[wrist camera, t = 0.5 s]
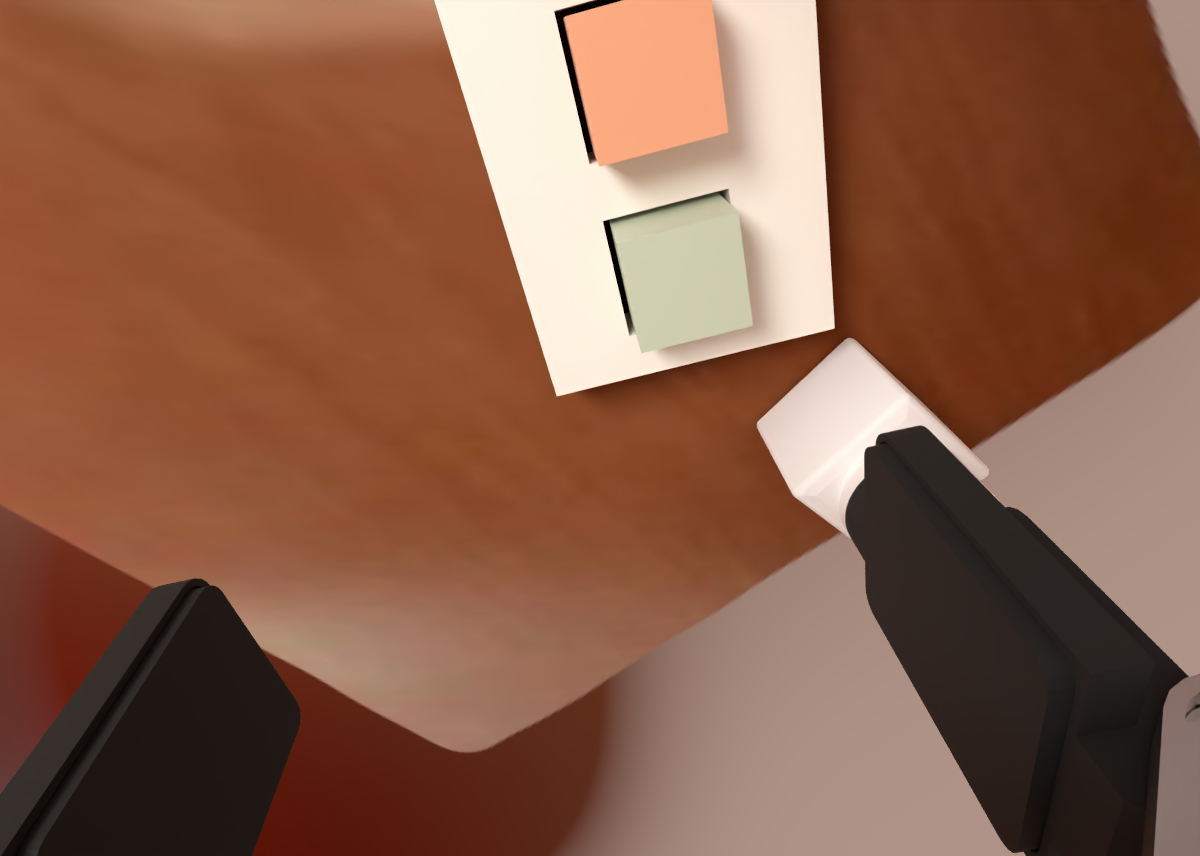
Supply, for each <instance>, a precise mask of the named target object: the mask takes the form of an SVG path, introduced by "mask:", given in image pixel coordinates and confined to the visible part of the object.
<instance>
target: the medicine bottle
mask: <svg viewBox="0 0 1200 856" xmlns="http://www.w3.org/2000/svg"><path fill="white" fill-rule="evenodd" d="M919 425H921V426H925V427H926V428H927V429H929V430H930V431H931V432H932V433H933V434H934V435H935V436H936V437H937V438H938V439H939V440H940V441H941V442H942V443H943V444H944V446H945V447H946V448H947V449H948V450H949V451H950V452H951V453H952V454H953V455H954V456H955V457H956V458H957V459H958V460H959V461H960V462H961V463H962V464H963V465H964V466H965V467H966V468H967V469H968V470H969V471H970V472H971V473H972V474H973V475H974V476H975V477H976V478H977V479H978V480H979V481H980V482H981V481H982V480H983V479H985V478H986V477H987V476H988V475H989V469H988V467H987V466H986V465H985V464H984V463H983V462H982V461H981V460H980V459H979V458H978V457H977V456H976V455H975V454H974V453H973V452H972V451H971V450H970V449H969V448H968V447H967V446H966V445H965V444H964V443H963V442H962V441H961V440H960V439H959V438H958V437H957V436H956V435H955V434H954V433H953V432H952V431H951V430H950V429H949V428H948V427H947V426H946V425H945V424H944V423H943V422H942V421H941V420H940V419H939V418H938V417H937V416H936V415H935V414H934V413H933V412H932V411H931V410H930V409H928V408H927V407H926V406H925V405H924V404H923V403H922V402H921V401H920V400H919V399H918V398H917V397H916V396H915V395H914V394H913V393H912V392H911V391H909V390H908V389H907V388H906V387H905V386H904V385H903V384H902V383H901V382H900V381H899V380H898V379H897V378H896V377H895V376H893V375H892V374H891V373H890V372H889V371H888V370H887V369H886V368H885V367H884V366H883V365H882V364H881V363H880V362H879V361H877V360H876V359H875V358H874V357H873V356H872V355H871V354H870V353H869V352H868V351H867V350H866V349H865V348H864V347H862V346H861V345H860V344H859V343H858V342H857V341H856V340H855V339H853V338H847V339H845V340H844V341H843V342H842V343H841V344H840V345H839V346H838V347H837V348H835V349H834V350H833V351H832V352H831V353H830V354H829V355H828V356H827V357H826V358H825V359H824V360H823V361H822V362H821V363H819V364H818V365H817V366H816V367H815V368H814V369H813V370H812V371H811V372H810V373H809V374H808V375H807V376H806V377H805V378H803V379H802V380H801V381H800V382H799V383H798V384H797V385H796V386H795V387H794V388H793V389H792V390H791V391H790V392H789V393H788V394H786V395H785V396H784V397H783V398H782V399H781V400H780V401H779V402H778V403H777V404H776V405H775V406H774V407H773V408H772V409H770V410H769V411H768V412H767V413H766V414H765V415H764V416H763V417H762V418H761V419H760V420H759V421H758V422H757V429H758V430H759V432H760V434H761V436H762V438H763V440H764V442H765V444H766V445H767V447H768V449H769V451H770V453H771V455H772V457H773V459H774V461H775V462H776V464H777V466H778V468H779V470H780V472H781V474H782V476H783V477H784V479H785V481H786V483H787V485H788V487H789V489H790V491H791V492H792V494H793V496H794V497H796V498H797V499H798V500H800V501H801V502H802V503H804V504H805V505H806V506H808V507H809V508H810V509H812V510H813V511H814V512H816V513H817V514H818V515H820V516H821V517H822V518H824V519H825V520H826V521H828V522H829V523H830V524H832V525H833V526H834V527H835V528H837V529H838V530H839V531H841V532H842V533H843V534H845V535H846V536H847V537H849V538H850V539H851V540H853V542H854V543H855V545H856V547H857V548H858V550H859V552H860V554H861V555H862V557H863V559H864V560H865V495H864V452H865V449H866V448H867V447H871V446H875V444H876V439H877V436H878V435H879V434H881V433H886V432H890V431H895V430H900V429H905V428H909V427H914V426H919ZM981 483H982V482H981ZM982 484H983V483H982ZM983 485H984V484H983ZM984 486H985V485H984ZM985 487H986V486H985ZM986 488H987V487H986ZM988 490H989V489H988ZM989 491H990V490H989ZM990 492H991V491H990ZM991 493H992V492H991ZM992 495H993V496H994V497H995V498H996V499H997V500H998V498H997V497H996V496H995V495H994V494H993V493H992ZM998 501H999V500H998ZM999 502H1000V501H999Z"/></svg>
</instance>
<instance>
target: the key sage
mask: <svg viewBox="0 0 1200 856" xmlns="http://www.w3.org/2000/svg"><path fill="white" fill-rule="evenodd" d="M609 223H610V227H611V232H612V236H613V240H614V245H615V249H616V254H617V258H618V262H619V267H620V271H621V276H622V280H623V285H624V289H625V293H626V298H627V302H628V307H629V311H630V315H631V320H632V323H633V327H634V330H635V333H636V337H637V340H638V344H639V347H640V350H641V353H645V352H649V351H653V350H657V349H661V348H665V347H669V346H674V345H678V344H682V343H686V342H690V341H694V340H698V339H702V338H706V337H710V336H714V335H718V334H722V333H726V332H730V331H734V330H739V329H743V328H747V327H751V326H753V322H752V314H751V306H750V298H749V290H748V282H747V274H746V266H745V258H744V250H743V242H742V235H741V227H740V219H739V212H738V211H737V210H736V209H735V208H734V207H733V206H732V205H731V204H730V203H728V202H727V201H726V200H725V199H724V198H723V197H722V196H721V195H720V194H719V193H718V192H713V193H709V194H705V195H702V196H698V197H694V198H690V199H686V200H682V201H678V202H675V203H671V204H667V205H663V206H659V207H655V208H652V209H648V210H644V211H640V212H636V213H632V214H628V215H625V216H621V217H617V218H613V219H609Z"/></svg>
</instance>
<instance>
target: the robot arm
mask: <svg viewBox="0 0 1200 856" xmlns="http://www.w3.org/2000/svg"><path fill="white" fill-rule="evenodd" d="M864 495H865V574H866V575H865V576H866V594H867V599H868V602H869V605H870V608H871V610H872V613H873V615H874V616H875V618H876V620H877V622H878V624H879V625H880V627H881V629H882V630H883V632H884V634H885V636H886V638H887V640H888V641H889V643H890V645H891V646H892V648H893V650H894V652H895V654H896V655H897V657H898V659H899V661H900V663H901V664H902V666H903V668H904V670H905V671H906V673H907V675H908V677H909V678H910V680H911V682H912V684H913V686H914V687H915V689H916V691H917V692H918V694H919V696H920V698H921V700H922V701H923V703H924V705H925V707H926V708H927V710H928V712H929V714H930V715H931V717H932V719H933V721H934V723H935V724H936V726H937V728H938V730H939V732H940V733H941V735H942V737H943V739H944V740H945V742H946V744H947V746H948V747H949V749H950V751H951V753H952V755H953V756H954V758H955V760H956V762H957V763H958V765H959V767H960V769H961V770H962V772H963V774H964V776H965V778H966V779H967V781H968V783H969V785H970V786H971V788H972V790H973V792H974V794H975V795H976V797H977V799H978V801H979V802H980V804H981V806H982V807H983V810H984V811H985V813H986V814H987V817H988V818H989V820H990V822H991V824H992V825H993V827H994V829H995V830H996V833H997V834H998V836H999V837H1000V839H1001V841H1002V842H1003V844H1004V845H1005V846H1006V847H1007V849H1008V850H1010V851H1011V852H1012V853H1018V852H1024V853H1025V855H1026V856H1200V674H1198V675H1195V676H1191V677H1189V676H1188V675H1186V673H1184V671H1182V669H1180V668H1179V666H1178V665H1177V664H1175V663H1174V662H1173V660H1172V659H1170V658H1169V657H1168V656H1167V655H1166V654H1165V653H1164V652H1163V651H1162V650H1161V649H1160V648H1159V647H1158V646H1157V645H1156V644H1155V643H1154V642H1153V641H1152V640H1151V639H1150V638H1149V637H1148V636H1147V635H1146V634H1145V633H1144V632H1143V631H1142V630H1141V629H1140V628H1139V627H1138V626H1137V625H1136V624H1135V623H1134V622H1133V621H1132V620H1131V619H1130V618H1129V617H1128V616H1127V615H1126V614H1125V613H1124V612H1123V611H1122V610H1121V609H1120V608H1119V607H1118V606H1117V605H1116V604H1115V603H1114V602H1113V601H1112V600H1111V599H1110V598H1109V597H1108V596H1107V595H1106V594H1105V593H1104V592H1103V591H1102V590H1101V589H1100V588H1099V587H1098V586H1097V585H1096V584H1095V583H1094V582H1093V581H1092V580H1091V579H1090V578H1089V577H1088V576H1087V575H1086V574H1085V573H1084V572H1083V571H1082V570H1081V569H1080V568H1079V567H1078V566H1077V565H1076V564H1075V563H1074V562H1073V561H1072V560H1071V559H1070V558H1069V557H1068V556H1067V555H1066V554H1065V553H1063V551H1062V550H1060V549H1059V547H1058V546H1057V545H1056V544H1055V543H1054V542H1053V541H1052V540H1050V538H1048V537H1047V535H1046V534H1044V533H1043V531H1041V529H1039V528H1038V527H1037V526H1036V525H1035V524H1034V523H1033V522H1032V521H1031V520H1030V519H1029V518H1028V517H1027V516H1026V515H1024V514H1023V513H1022V512H1020V511H1019V510H1017V509H1014V508H1011V507H1006V508H1005V507H1004V506H1003V505H1002V504H1001V503H1000V502H999V501H998V500H997V499H996V498H995V497H994V496H993V495H992V493H991V492H990V491H989V490H988V489H987V488H986V487H985V486H984V485H983V484H982V483H981V482H980V481H979V480H978V479H977V478H976V477H975V476H974V475H973V474H972V473H971V472H970V471H969V470H968V469H967V468H966V467H965V466H964V465H963V464H962V463H961V462H960V461H959V460H958V459H957V458H956V457H955V456H954V455H953V454H952V453H951V452H950V451H949V450H948V449H947V448H946V447H945V446H944V444H943V443H942V442H941V441H940V440H939V439H938V438H937V437H936V436H935V435H934V434H933V433H932V432H931V431H930V430H929V429H927V428H926V427H925V426H921V425H919V426H914V427H909V428H905V429H900V430H895V431H890V432H886V433H881V434H879V435H878V436H877V439H876V444H875V446H871V447H867V448H866V449H865V452H864ZM299 725H300V709H299V706H298V703H297V701H296V700H295V698H294V697H293V695H292V694H291V692H290V691H289V689H288V688H287V686H286V685H285V683H284V682H283V680H282V679H281V678H280V676H279V675H278V673H277V672H276V670H275V669H274V667H273V666H272V664H271V663H270V661H269V660H268V658H267V657H266V655H265V654H264V653H263V651H262V650H261V648H260V647H259V645H258V644H257V642H256V641H255V639H254V638H253V636H252V635H251V633H250V632H249V630H248V629H247V628H246V626H245V625H244V623H243V622H242V620H241V619H240V617H239V616H238V614H237V613H236V611H235V610H234V608H233V607H232V606H231V604H230V603H229V601H228V600H227V598H226V597H225V595H224V594H223V592H222V591H221V590H220V589H219V588H218V587H216V586H210V585H209V584H208V583H207V582H206V581H204V580H202V579H190V580H185V581H180V582H176V583H171V584H166V585H161V586H158V587H156V588H153V589H152V590H151V591H150V592H149V593H148V594H147V595H146V597H145V598H144V600H143V601H142V602H141V604H140V605H139V606H138V608H137V609H136V610H135V612H134V613H133V615H132V616H131V617H130V619H129V620H128V621H127V623H126V624H125V625H124V627H123V628H122V630H121V631H120V632H119V634H118V635H117V636H116V638H115V639H114V640H113V642H112V643H111V645H110V646H109V647H108V649H107V650H106V651H105V653H104V654H103V655H102V657H101V658H100V660H99V661H98V662H97V664H96V665H95V666H94V668H93V669H92V670H91V672H90V673H89V674H88V676H87V677H86V679H85V680H84V681H83V683H82V684H81V686H80V687H79V688H78V689H77V691H76V692H75V694H74V695H73V696H72V698H71V699H70V700H69V702H68V703H67V704H66V706H65V708H64V709H63V710H62V711H61V713H60V714H59V715H58V717H57V718H56V720H55V721H54V722H53V724H52V725H51V726H50V728H49V729H48V730H47V732H46V733H45V734H44V736H43V737H42V738H41V740H40V741H39V743H38V744H37V745H36V747H35V748H34V750H33V751H32V752H31V754H30V755H29V756H28V758H27V759H26V760H25V762H24V763H23V764H22V766H21V767H20V769H19V770H18V771H17V773H16V774H15V775H14V777H13V778H12V779H11V781H10V782H9V783H8V785H7V786H6V788H5V789H4V791H3V792H2V793H1V794H0V856H252V854H253V851H254V848H255V846H256V843H257V840H258V838H259V835H260V832H261V829H262V827H263V824H264V821H265V819H266V816H267V813H268V811H269V808H270V805H271V802H272V800H273V797H274V794H275V791H276V789H277V786H278V783H279V781H280V778H281V775H282V773H283V770H284V767H285V764H286V762H287V759H288V756H289V754H290V751H291V748H292V745H293V743H294V740H295V737H296V735H297V732H298V729H299Z"/></svg>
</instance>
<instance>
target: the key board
mask: <svg viewBox="0 0 1200 856" xmlns="http://www.w3.org/2000/svg"><path fill="white" fill-rule="evenodd" d="M595 1H598V0H435V4H436V7H437V10H438V13H439V17H440V20H441V23H442V26H443V29H444V33H445V36H446V39H447V42H448V46H449V49H450V52H451V55H452V59H453V62H454V65H455V68H456V72H457V75H458V78H459V81H460V84H461V88H462V91H463V94H464V97H465V101H466V104H467V107H468V110H469V114H470V117H471V120H472V123H473V127H474V130H475V133H476V136H477V139H478V143H479V146H480V149H481V152H482V156H483V159H484V162H485V165H486V169H487V172H488V175H489V178H490V181H491V185H492V188H493V191H494V194H495V198H496V201H497V204H498V207H499V211H500V214H501V217H502V220H503V224H504V227H505V230H506V233H507V236H508V240H509V243H510V246H511V249H512V253H513V256H514V259H515V262H516V266H517V269H518V272H519V275H520V279H521V282H522V285H523V288H524V291H525V295H526V298H527V301H528V304H529V308H530V311H531V314H532V317H533V321H534V324H535V327H536V330H537V334H538V337H539V340H540V343H541V346H542V350H543V353H544V356H545V359H546V363H547V366H548V369H549V372H550V376H551V379H552V382H553V385H554V389H555V392H556V395H557V396H560V395H564V394H568V393H572V392H576V391H580V390H585V389H589V388H593V387H597V386H601V385H605V384H609V383H613V382H617V381H621V380H626V379H630V378H634V377H638V376H642V375H646V374H650V373H654V372H658V371H662V370H667V369H671V368H675V367H679V366H683V365H687V364H691V363H695V362H699V361H703V360H708V359H712V358H716V357H720V356H724V355H728V354H732V353H736V352H740V351H744V350H748V349H753V348H757V347H761V346H765V345H769V344H773V343H777V342H781V341H785V340H789V339H794V338H798V337H802V336H806V335H810V334H814V333H818V332H822V331H826V330H830V329H835V325H834V308H833V291H832V274H831V257H830V239H829V222H828V205H827V188H826V170H825V153H824V136H823V119H822V101H821V84H820V67H819V50H818V32H817V15H816V0H712V5H713V13H714V21H715V29H716V37H717V45H718V53H719V60H720V68H721V76H722V84H723V92H724V100H725V108H726V116H727V124H728V132H729V133H725V134H721V135H718V136H714V137H710V138H706V139H702V140H699V141H695V142H691V143H687V144H684V145H680V146H676V147H672V148H668V149H665V150H661V151H657V152H653V153H650V154H646V155H642V156H638V157H634V158H631V159H627V160H623V161H619V162H616V163H612V164H608V165H604V166H600V167H599V165H598V162H597V159H596V157H595V154H594V152H590V153H587V151H586V147H585V143H584V138H583V134H582V130H581V125H580V121H579V117H578V112H577V108H576V104H575V100H574V95H573V91H572V87H571V82H570V78H569V74H568V69H567V65H566V61H565V56H564V52H563V48H562V44H561V39H560V35H559V31H558V26H557V22H556V18H555V13H556V12H559V11H563V10H566V9H570V8H573V7H577V6H581V5H584V4H588V3H591V2H595ZM713 192H718V193H719V194H720V195H721V196H722V197H723V198H724V199H725V200H726V201H727V202H728V203H730V204H731V205H732V206H733V207H734V208H735V209H736V210H737V211H738V212H739V219H740V227H741V235H742V242H743V250H744V258H745V266H746V274H747V282H748V290H749V298H750V306H751V314H752V322H753V326H751V327H747V328H743V329H739V330H734V331H730V332H726V333H722V334H718V335H714V336H710V337H706V338H702V339H698V340H694V341H690V342H686V343H682V344H678V345H674V346H669V347H665V348H661V349H657V350H653V351H649V352H645V353H641V350H640V347H639V344H638V340H637V337H636V333H635V330H634V327H633V323H632V320H631V315H630V312H629V313H625V314H624V311H623V306H622V302H621V298H620V293H619V289H618V285H617V281H616V276H615V272H614V268H613V263H612V259H611V255H610V250H609V246H608V242H607V237H606V233H605V229H604V225H603V221H605V220H609V219H613V218H617V217H621V216H624V215H628V214H632V213H636V212H640V211H644V210H647V209H651V208H655V207H659V206H663V205H667V204H671V203H674V202H678V201H682V200H686V199H690V198H694V197H698V196H701V195H705V194H709V193H713Z"/></svg>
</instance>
